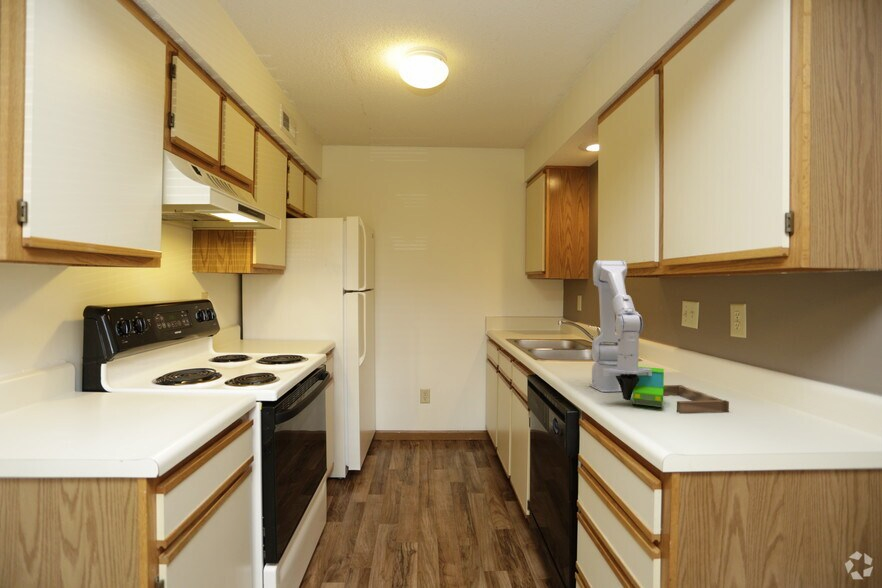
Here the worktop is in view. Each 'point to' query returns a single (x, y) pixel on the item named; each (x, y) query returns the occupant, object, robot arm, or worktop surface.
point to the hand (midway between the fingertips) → (626, 399)
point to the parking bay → (695, 400)
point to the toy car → (650, 388)
